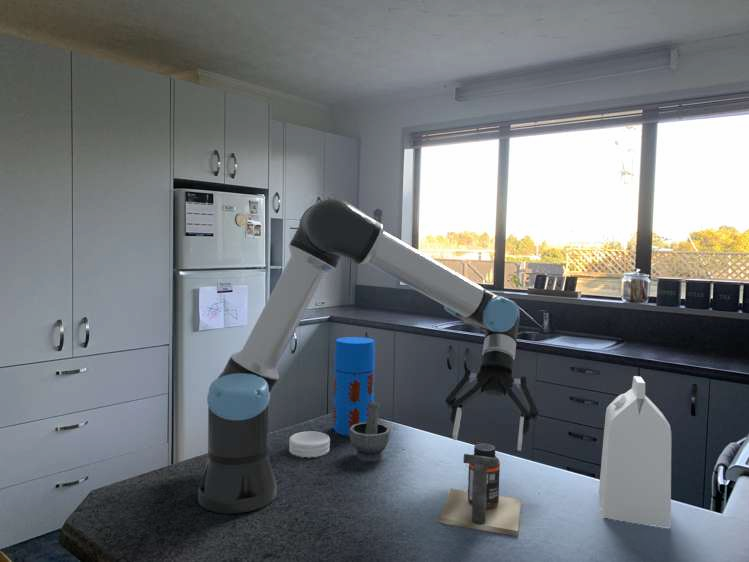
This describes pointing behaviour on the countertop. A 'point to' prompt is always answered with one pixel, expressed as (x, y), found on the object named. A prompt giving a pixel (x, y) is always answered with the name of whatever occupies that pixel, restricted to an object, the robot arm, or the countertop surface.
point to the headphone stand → (481, 504)
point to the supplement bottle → (492, 476)
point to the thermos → (353, 382)
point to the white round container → (309, 444)
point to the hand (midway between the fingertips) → (486, 442)
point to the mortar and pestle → (370, 436)
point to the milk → (636, 460)
